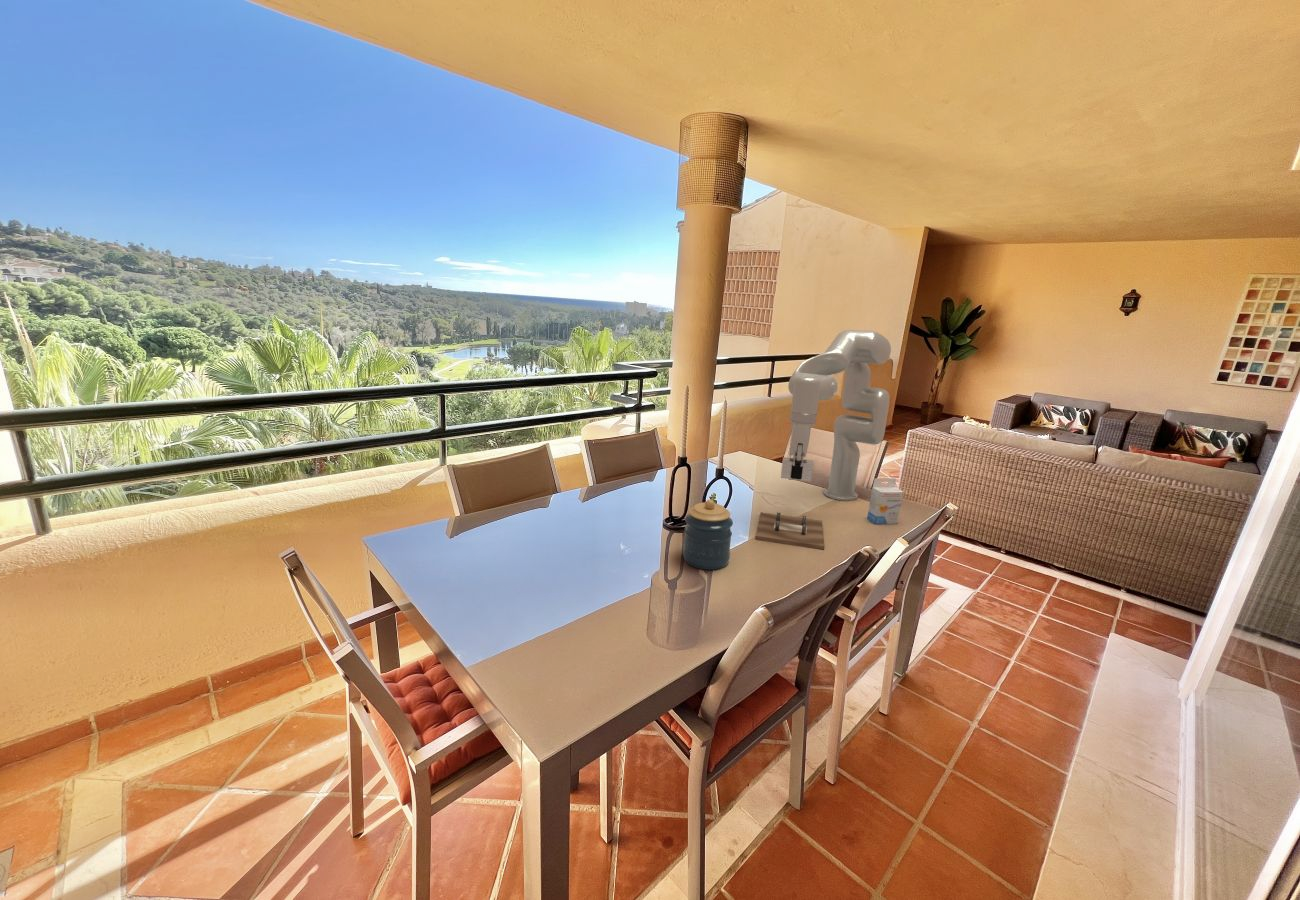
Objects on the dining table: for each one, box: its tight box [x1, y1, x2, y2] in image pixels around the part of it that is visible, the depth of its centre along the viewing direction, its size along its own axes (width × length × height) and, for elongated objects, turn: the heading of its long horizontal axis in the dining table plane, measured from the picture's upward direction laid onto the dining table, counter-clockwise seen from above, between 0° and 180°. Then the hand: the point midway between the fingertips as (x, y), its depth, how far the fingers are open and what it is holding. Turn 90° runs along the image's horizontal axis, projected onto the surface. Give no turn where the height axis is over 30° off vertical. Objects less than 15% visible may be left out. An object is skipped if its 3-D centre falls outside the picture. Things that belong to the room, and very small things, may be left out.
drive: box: [780, 456, 815, 483], centre depth 154 cm, size 4×9×6 cm, turn 74°
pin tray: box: [755, 512, 826, 550], centre depth 159 cm, size 20×20×4 cm
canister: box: [682, 499, 734, 571], centre depth 137 cm, size 13×13×18 cm
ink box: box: [867, 477, 904, 525], centre depth 168 cm, size 8×5×15 cm, turn 98°
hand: (796, 475), depth 154 cm, fingers closed on drive, 4 cm apart
